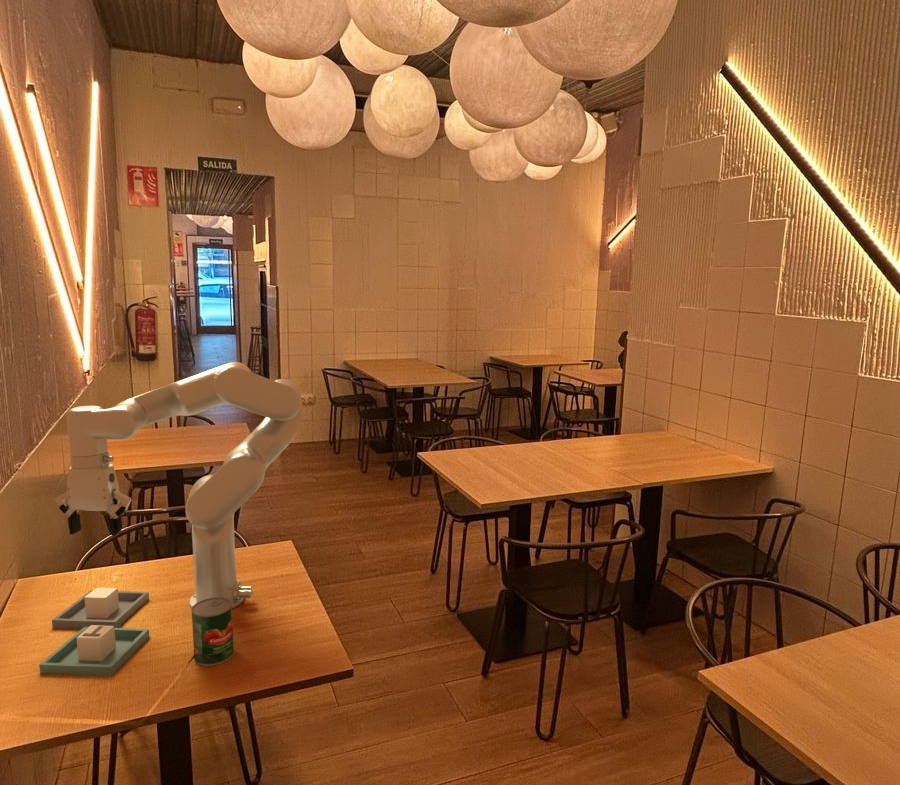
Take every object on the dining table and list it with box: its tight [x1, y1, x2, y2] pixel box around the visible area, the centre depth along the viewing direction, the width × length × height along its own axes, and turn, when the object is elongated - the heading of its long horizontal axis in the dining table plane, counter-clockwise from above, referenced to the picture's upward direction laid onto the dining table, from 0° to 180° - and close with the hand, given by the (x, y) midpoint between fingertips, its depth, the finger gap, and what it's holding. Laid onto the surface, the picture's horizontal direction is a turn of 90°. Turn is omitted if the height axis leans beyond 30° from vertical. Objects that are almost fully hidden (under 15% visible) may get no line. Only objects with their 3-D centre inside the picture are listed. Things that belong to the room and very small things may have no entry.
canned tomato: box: [190, 597, 235, 667], centre depth 135 cm, size 8×8×11 cm
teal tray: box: [39, 627, 150, 677], centre depth 135 cm, size 15×15×2 cm
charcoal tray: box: [51, 589, 150, 630], centre depth 152 cm, size 15×15×2 cm
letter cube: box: [76, 625, 116, 661], centre depth 135 cm, size 5×5×5 cm
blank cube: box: [84, 587, 119, 618], centre depth 152 cm, size 5×5×5 cm
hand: (95, 532), depth 149 cm, fingers open, 9 cm apart
